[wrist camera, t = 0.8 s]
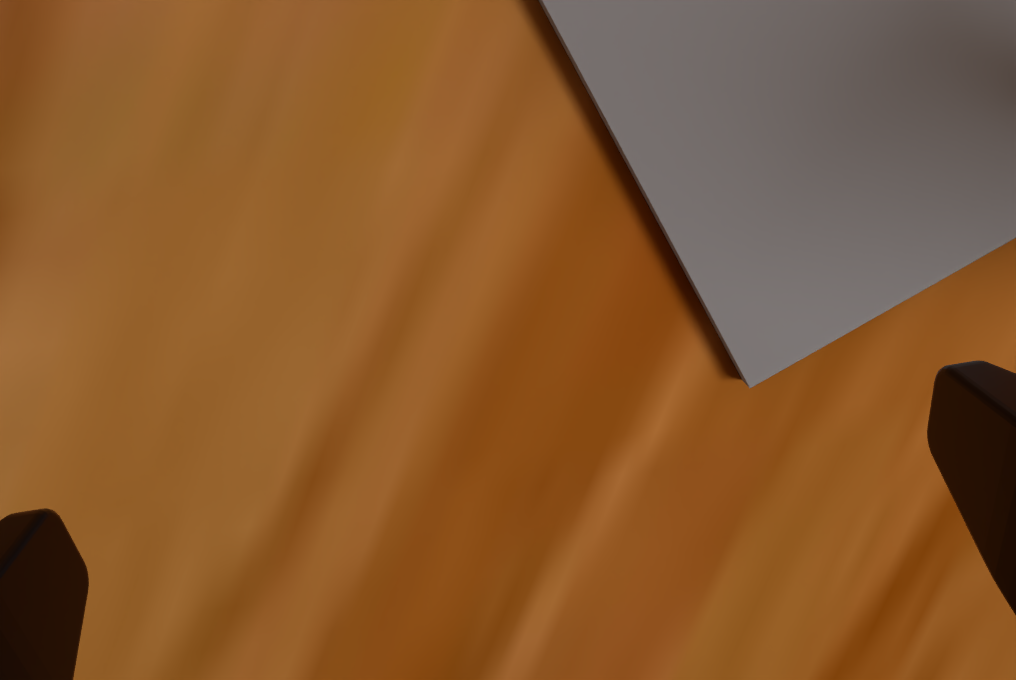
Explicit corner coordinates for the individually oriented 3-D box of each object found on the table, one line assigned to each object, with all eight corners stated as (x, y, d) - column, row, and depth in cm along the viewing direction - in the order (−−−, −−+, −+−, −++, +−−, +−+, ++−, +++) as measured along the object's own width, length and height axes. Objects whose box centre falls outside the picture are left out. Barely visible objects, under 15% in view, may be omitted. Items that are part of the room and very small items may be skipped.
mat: (1145, 151, 24) (1163, 153, 23) (742, 380, 25) (749, 388, 24) (969, -364, 20) (985, -377, 19) (501, -68, 21) (503, -72, 20)
